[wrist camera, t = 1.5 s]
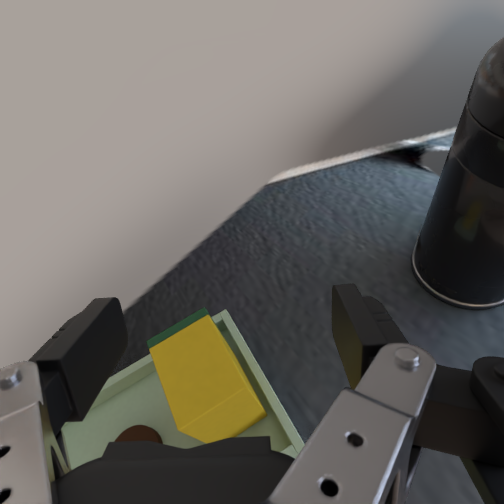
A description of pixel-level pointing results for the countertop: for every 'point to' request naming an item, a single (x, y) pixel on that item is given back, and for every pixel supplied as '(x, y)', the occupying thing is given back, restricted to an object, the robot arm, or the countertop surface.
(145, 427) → the brown round disc
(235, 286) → the countertop surface
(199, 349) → the sponge
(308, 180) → the countertop surface
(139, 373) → the tray
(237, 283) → the countertop surface
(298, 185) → the countertop surface
